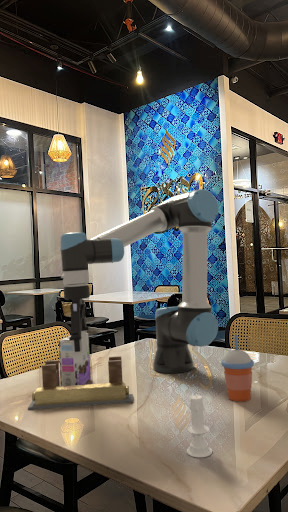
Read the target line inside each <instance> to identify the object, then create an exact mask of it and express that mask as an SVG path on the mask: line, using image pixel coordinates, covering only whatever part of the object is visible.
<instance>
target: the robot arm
mask: <svg viewBox="0 0 288 512" xmlns="http://www.w3.org/2000/svg"><path fill="white" fill-rule="evenodd" d="M219 209H220V208H219V204H218V200H217V198H216V197H215V196H214V195H213V193H212V192H210V191H209V190H208V189H204V188H201V189H193V190H191V191H188V192H184V193H180V194H177V195H174V196H172V197H170V198H168V199H166V200H165V201H163V202H161V203H159V204H157V205H156V206H154V207H153V206H152V207H151V208H150V210H149V212H146V213H145V214H142V215H139V216H137V217H136V218H133V219H131V220H129V221H127V222H125V223H123V224H120V225H117V226H116V227H114V228H111V229H109V230H107V231H104V232H103V233H100V234H98V235H97V236H94V237H92V238H87V236H86V233H85V232H79V231H78V232H67V233H62V235H61V236H60V249H59V250H60V257H61V269H62V274H60V278H61V279H62V284H63V285H64V287H63V299H64V300H66V301H69V300H71V301H72V302H71V303H70V305H69V306H70V307H69V309H70V335H71V337H69V340H72V346H73V361H74V364H75V363H84V359H83V352H88V347H87V331H88V330H89V326H88V325H87V319H86V318H87V317H86V304H85V299H88V298H90V296H91V295H90V294H91V293H90V291H91V290H90V285H89V283H90V279H89V278H90V275H89V267H88V266H89V265H95V264H107V263H108V264H110V263H111V264H113V263H118V262H121V261H122V260H123V259H124V256H125V247H127V246H129V245H132V244H133V243H134V244H135V242H136V243H137V242H138V241H140V240H142V239H143V238H146V237H148V236H150V235H152V234H153V233H156V232H164V231H166V230H169V229H172V228H177V227H178V230H179V231H180V232H181V233H182V288H181V289H182V294H181V296H182V298H181V302H180V303H179V304H178V305H177V306H167V307H160V308H156V311H155V316H154V321H155V333H156V336H155V338H156V350H155V354H154V359H153V362H152V364H153V366H152V369H153V371H155V372H158V373H163V374H178V373H180V374H181V373H185V372H189V371H191V370H193V369H194V367H195V365H194V360H193V357H192V355H191V351H190V349H189V345H190V346H193V347H206V346H207V347H208V346H209V345H210V344H211V343H212V342H213V341H214V340H215V338H216V337H217V335H218V332H219V323H218V319H217V318H216V316H215V315H214V314H213V313H212V306H211V305H210V303H208V234H209V232H210V231H211V230H212V229H213V228H212V227H213V226H212V225H213V222H214V221H215V219H217V217H218V215H219Z"/></svg>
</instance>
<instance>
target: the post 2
mask: <svg viewBox="0 0 288 512" xmlns="http://www.w3.org/2000/svg"><path fill="white" fill-rule="evenodd" d="M122 362H123V361H122V355H118V356H115V355H114V356H108V360H107V363H108V365H107V366H108V383H119V382H124V380H123V365H122V364H123V363H122Z"/></svg>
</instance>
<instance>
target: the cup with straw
mask: <svg viewBox="0 0 288 512" xmlns="http://www.w3.org/2000/svg"><path fill="white" fill-rule="evenodd" d="M238 337H239V336H238V334H234V349H232V350H230V351H228V352H227V353H225V355H224V357H223V359H222V360H221V366H222V367H223V368H224V369H223V370H224V371H223V374H224V381H225V386H226V389H227V396H228V399H229V400H231V401H233V402H246V401H249V400H251V398H252V397H251V396H252V393H251V392H252V387H253V386H252V385H253V371H252V369H253V368H252V367H254V366H255V362H254V359H252V357H251V356H250V355H249V353H247V352H246V351H244V350H243V349H239V338H238Z"/></svg>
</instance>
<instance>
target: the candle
mask: <svg viewBox="0 0 288 512" xmlns="http://www.w3.org/2000/svg"><path fill="white" fill-rule="evenodd" d="M189 399H190V400H189V401H190V402H189V410H190V413H191V415H190V416H191V425H190V426H188V427H187V428H186V431H187V432H188V433H190V434H192V435H193V438H192V441H191V442H190V443H189V447H188V448H187V449H186V454H187V455H188V456H190V457H193V458H198V459H200V458H206V457H209V456H211V455H212V454H213V449H212V448H211V447H210V446H209V443H208V442H207V441H206V438H205V437H204V435H206V434H207V433H208V432H209V431H210V427H209V426H207V425H205V417H204V416H205V415H204V414H205V413H204V411H205V408H204V401H203V400H204V399H203V396H202V395H198V394H195V393H194V395H192V396H190V397H189Z"/></svg>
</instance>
